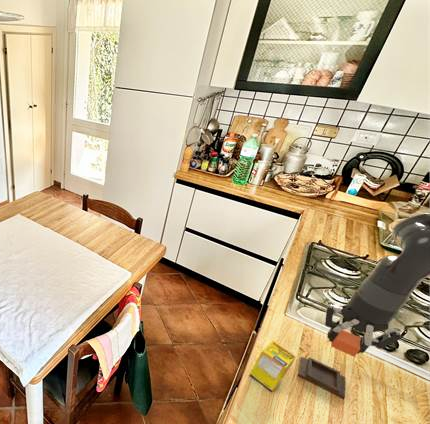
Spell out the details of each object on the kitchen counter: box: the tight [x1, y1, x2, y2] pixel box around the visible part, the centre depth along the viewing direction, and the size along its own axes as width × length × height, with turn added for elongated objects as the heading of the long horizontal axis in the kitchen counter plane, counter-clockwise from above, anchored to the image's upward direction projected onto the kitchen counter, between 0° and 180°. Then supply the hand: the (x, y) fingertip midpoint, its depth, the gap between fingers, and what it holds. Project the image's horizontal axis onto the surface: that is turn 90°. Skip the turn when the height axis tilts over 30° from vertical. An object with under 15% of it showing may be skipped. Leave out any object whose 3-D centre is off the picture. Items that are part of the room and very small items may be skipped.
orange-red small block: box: [330, 329, 361, 358], centre depth 78 cm, size 5×5×3 cm
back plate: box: [297, 356, 346, 400], centre depth 85 cm, size 10×7×2 cm
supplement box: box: [249, 340, 297, 393], centre depth 82 cm, size 6×6×11 cm
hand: (343, 344), depth 79 cm, fingers closed on orange-red small block, 4 cm apart
